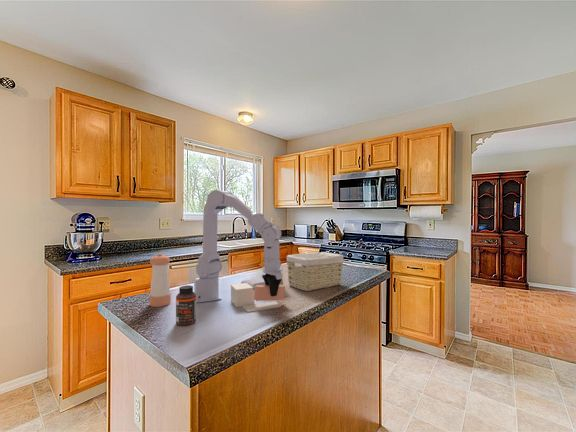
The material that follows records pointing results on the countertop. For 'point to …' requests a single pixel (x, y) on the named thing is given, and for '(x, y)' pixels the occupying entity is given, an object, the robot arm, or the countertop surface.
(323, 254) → the storage basket
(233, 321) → the countertop surface
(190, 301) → the supplement bottle
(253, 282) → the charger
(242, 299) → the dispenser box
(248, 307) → the mat
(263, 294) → the pink rectangular block
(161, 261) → the salt shaker
